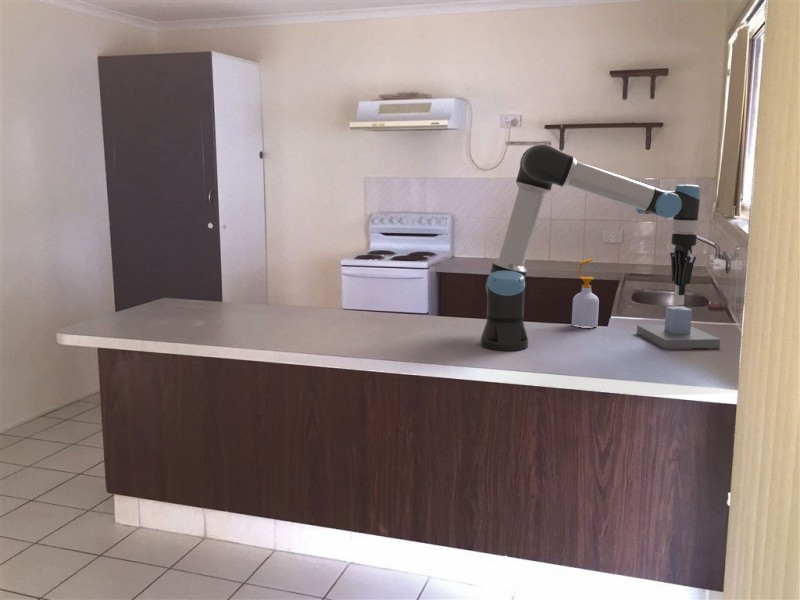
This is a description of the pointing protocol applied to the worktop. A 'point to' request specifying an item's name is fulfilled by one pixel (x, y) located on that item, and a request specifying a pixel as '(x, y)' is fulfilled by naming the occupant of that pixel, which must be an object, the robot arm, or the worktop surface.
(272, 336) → the worktop surface
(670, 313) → the plug
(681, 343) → the socket plate
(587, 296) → the soap bottle
